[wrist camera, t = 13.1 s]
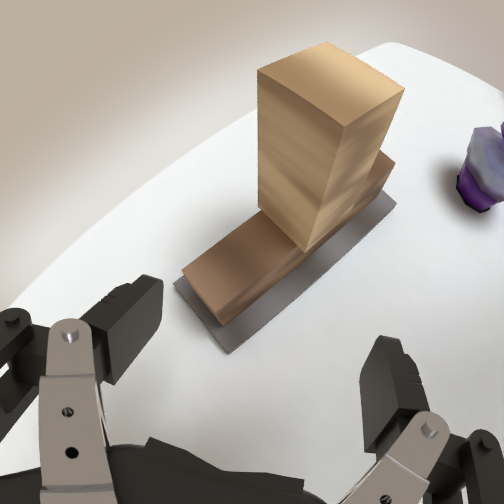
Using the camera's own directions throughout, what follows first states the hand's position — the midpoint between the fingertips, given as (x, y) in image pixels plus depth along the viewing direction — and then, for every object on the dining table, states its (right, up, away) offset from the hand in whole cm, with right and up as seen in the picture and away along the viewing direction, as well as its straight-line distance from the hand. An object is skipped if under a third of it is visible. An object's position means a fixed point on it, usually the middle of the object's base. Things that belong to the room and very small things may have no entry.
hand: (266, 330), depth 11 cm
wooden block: (+3, +6, +10) cm, 12 cm away
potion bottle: (+25, +10, +18) cm, 32 cm away
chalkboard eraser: (+3, +3, +16) cm, 17 cm away
